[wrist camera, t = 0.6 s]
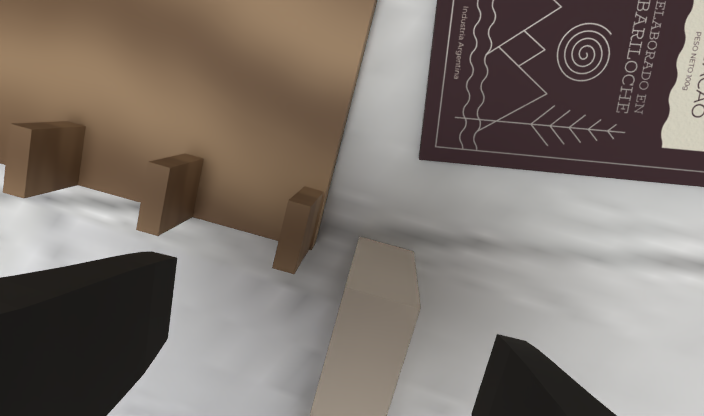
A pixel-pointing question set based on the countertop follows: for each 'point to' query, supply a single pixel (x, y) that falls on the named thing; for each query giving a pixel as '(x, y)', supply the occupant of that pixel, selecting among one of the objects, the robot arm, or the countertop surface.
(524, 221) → the countertop surface
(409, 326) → the clay slab
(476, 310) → the countertop surface
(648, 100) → the chocolate bar
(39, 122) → the pegged wooden tray
